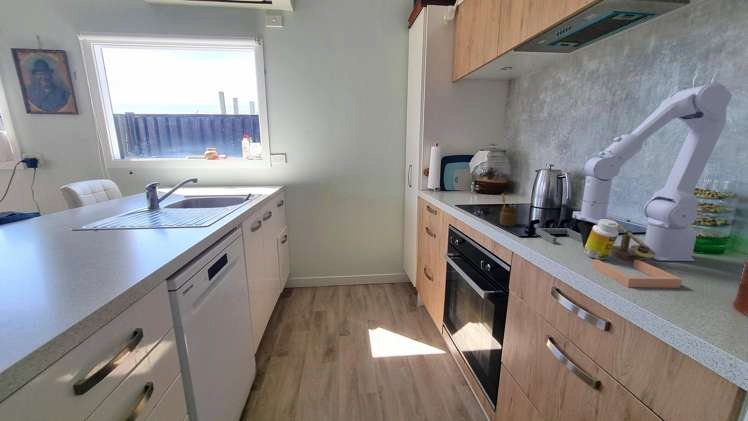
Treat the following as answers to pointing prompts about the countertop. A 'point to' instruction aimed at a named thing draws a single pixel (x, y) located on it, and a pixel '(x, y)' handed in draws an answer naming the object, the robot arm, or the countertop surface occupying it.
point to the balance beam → (639, 249)
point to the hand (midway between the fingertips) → (588, 248)
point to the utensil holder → (508, 214)
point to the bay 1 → (547, 231)
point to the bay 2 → (657, 279)
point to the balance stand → (625, 250)
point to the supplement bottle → (601, 239)
